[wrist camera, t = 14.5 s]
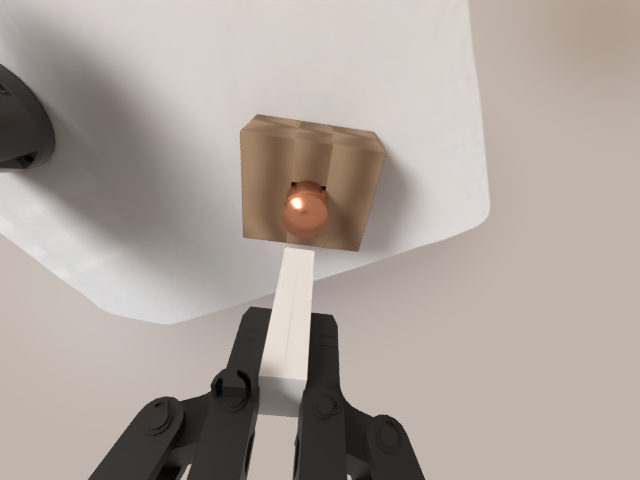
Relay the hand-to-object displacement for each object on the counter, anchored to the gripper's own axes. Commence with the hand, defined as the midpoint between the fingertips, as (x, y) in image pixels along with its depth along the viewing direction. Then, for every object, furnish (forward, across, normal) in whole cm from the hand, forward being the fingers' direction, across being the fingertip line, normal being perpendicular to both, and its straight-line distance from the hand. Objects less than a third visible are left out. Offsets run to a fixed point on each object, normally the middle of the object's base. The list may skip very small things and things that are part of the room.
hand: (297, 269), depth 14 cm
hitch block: (+28, 0, -6) cm, 29 cm away
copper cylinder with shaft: (+25, 0, -6) cm, 26 cm away
